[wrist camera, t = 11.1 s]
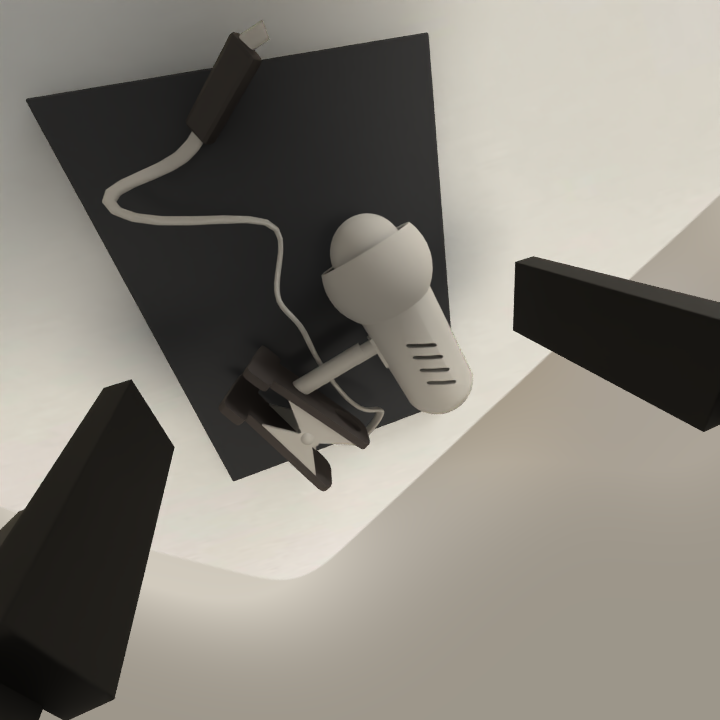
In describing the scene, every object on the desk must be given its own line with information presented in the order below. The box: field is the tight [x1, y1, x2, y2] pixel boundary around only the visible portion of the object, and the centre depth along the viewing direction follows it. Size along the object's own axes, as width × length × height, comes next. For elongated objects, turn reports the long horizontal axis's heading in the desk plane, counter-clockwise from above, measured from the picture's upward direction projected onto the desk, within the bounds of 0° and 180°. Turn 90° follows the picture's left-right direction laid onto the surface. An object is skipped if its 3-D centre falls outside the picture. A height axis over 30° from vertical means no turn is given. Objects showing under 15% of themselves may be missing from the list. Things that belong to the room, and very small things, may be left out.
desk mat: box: [26, 33, 451, 481], centre depth 19 cm, size 20×16×1 cm
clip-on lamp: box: [102, 20, 473, 491], centre depth 16 cm, size 12×6×18 cm
